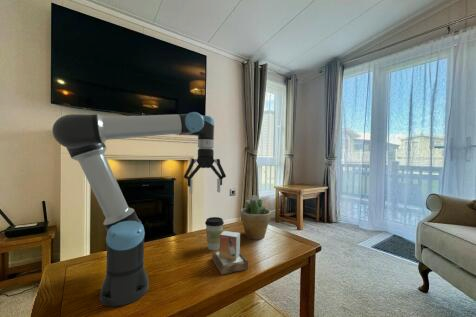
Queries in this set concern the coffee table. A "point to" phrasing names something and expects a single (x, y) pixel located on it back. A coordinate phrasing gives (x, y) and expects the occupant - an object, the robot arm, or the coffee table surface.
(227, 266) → the tray
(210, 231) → the coffee cup
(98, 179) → the robot arm
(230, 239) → the small box
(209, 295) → the coffee table surface
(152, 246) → the coffee table surface
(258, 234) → the potted plant
